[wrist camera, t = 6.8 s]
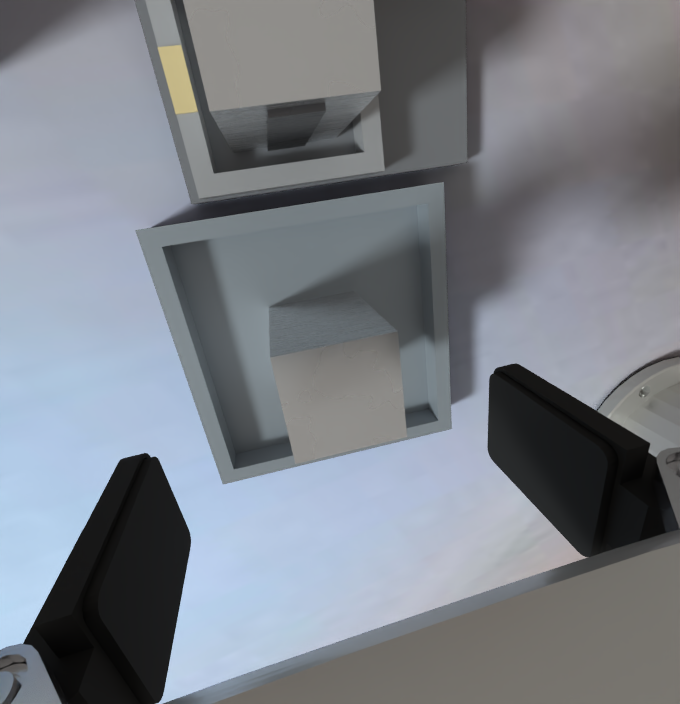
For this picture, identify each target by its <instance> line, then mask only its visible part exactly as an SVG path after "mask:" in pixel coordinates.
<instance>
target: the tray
mask: <svg viewBox="0 0 680 704" xmlns="http://www.w3.org/2000/svg"><path fill="white" fill-rule="evenodd" d="M135 231H136V233H137V236H138V239H139V242H140V245H141V248H142V251H143V254H144V257H145V260H146V262H147V265H148V268H149V271H150V274H151V277H152V280H153V283H154V286H155V289H156V291H157V294H158V297H159V300H160V303H161V306H162V309H163V312H164V315H165V318H166V320H167V323H168V326H169V329H170V332H171V335H172V338H173V341H174V344H175V347H176V349H177V352H178V355H179V358H180V361H181V364H182V367H183V370H184V373H185V376H186V378H187V381H188V384H189V387H190V390H191V393H192V396H193V399H194V402H195V405H196V407H197V410H198V413H199V416H200V419H201V422H202V425H203V428H204V431H205V434H206V436H207V439H208V442H209V445H210V448H211V451H212V454H213V457H214V460H215V463H216V465H217V468H218V471H219V474H220V477H221V480H222V483H223V484H227V483H231V482H235V481H239V480H243V479H247V478H251V477H256V476H260V475H264V474H268V473H272V472H276V471H280V470H284V469H289V468H293V467H297V466H301V465H305V464H309V463H313V462H317V461H321V460H326V459H330V458H334V457H338V456H342V455H346V454H350V453H354V452H359V451H363V450H367V449H371V448H375V447H379V446H383V445H387V444H391V443H396V442H400V441H404V440H408V439H412V438H416V437H420V436H424V435H429V434H433V433H437V432H441V431H445V430H449V429H452V426H451V394H450V362H449V329H448V297H447V265H446V233H445V201H444V182H440V183H434V184H428V185H421V186H415V187H408V188H402V189H396V190H389V191H383V192H377V193H370V194H364V195H357V196H351V197H345V198H338V199H332V200H326V201H319V202H313V203H306V204H300V205H294V206H287V207H281V208H275V209H268V210H262V211H255V212H249V213H243V214H236V215H230V216H224V217H217V218H211V219H204V220H198V221H192V222H185V223H179V224H173V225H166V226H160V227H153V228H147V229H141V230H135ZM351 291H354V292H355V293H357V294H358V295H359V296H360V297H361V298H362V299H363V300H364V301H365V302H366V303H367V304H369V305H370V306H371V307H372V308H373V309H374V310H375V311H376V312H377V313H378V314H379V315H380V316H382V317H383V318H384V319H385V320H386V321H387V322H388V323H389V324H390V325H391V326H392V327H394V328H395V329H396V330H397V331H398V339H399V351H400V362H401V373H402V385H403V396H404V407H405V419H406V430H407V437H406V438H402V439H397V440H393V441H389V442H385V443H381V444H377V445H373V446H368V447H364V448H360V449H356V450H352V451H348V452H344V453H340V454H335V455H331V456H327V457H323V458H319V459H315V460H311V461H306V462H302V463H298V464H295V460H294V456H293V452H292V448H291V444H290V439H289V435H288V431H287V427H286V423H285V419H284V414H283V410H282V406H281V402H280V398H279V393H278V389H277V385H276V381H275V377H274V373H273V368H272V364H271V360H270V340H269V307H271V306H277V305H282V304H287V303H293V302H298V301H303V300H309V299H314V298H319V297H324V296H330V295H335V294H340V293H346V292H351Z"/></svg>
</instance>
